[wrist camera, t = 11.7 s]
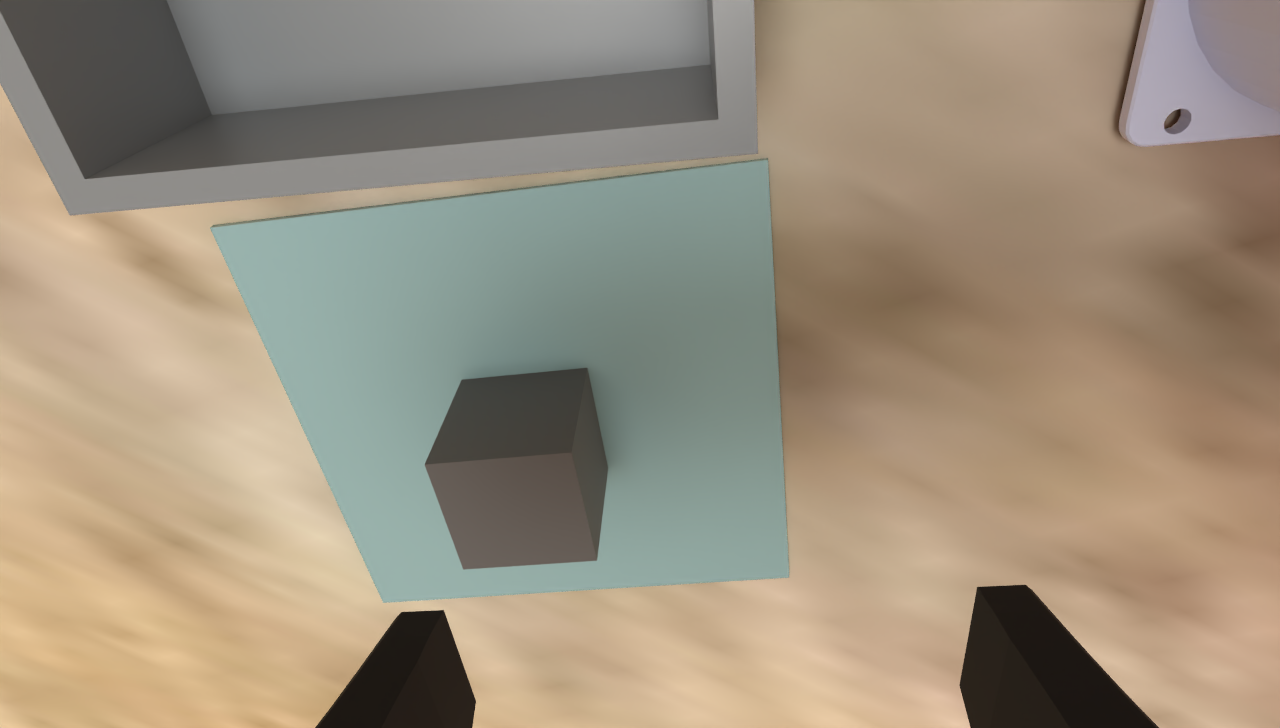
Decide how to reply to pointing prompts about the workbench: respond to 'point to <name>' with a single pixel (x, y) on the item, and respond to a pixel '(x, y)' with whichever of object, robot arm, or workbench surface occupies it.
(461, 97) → the grey bin
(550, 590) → the teal lid
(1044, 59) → the workbench surface
